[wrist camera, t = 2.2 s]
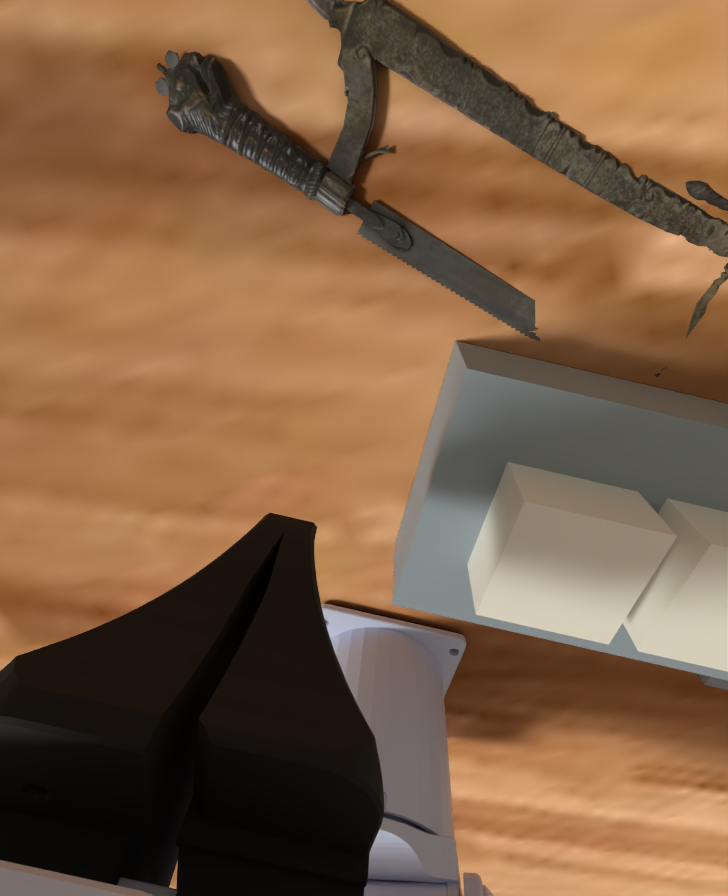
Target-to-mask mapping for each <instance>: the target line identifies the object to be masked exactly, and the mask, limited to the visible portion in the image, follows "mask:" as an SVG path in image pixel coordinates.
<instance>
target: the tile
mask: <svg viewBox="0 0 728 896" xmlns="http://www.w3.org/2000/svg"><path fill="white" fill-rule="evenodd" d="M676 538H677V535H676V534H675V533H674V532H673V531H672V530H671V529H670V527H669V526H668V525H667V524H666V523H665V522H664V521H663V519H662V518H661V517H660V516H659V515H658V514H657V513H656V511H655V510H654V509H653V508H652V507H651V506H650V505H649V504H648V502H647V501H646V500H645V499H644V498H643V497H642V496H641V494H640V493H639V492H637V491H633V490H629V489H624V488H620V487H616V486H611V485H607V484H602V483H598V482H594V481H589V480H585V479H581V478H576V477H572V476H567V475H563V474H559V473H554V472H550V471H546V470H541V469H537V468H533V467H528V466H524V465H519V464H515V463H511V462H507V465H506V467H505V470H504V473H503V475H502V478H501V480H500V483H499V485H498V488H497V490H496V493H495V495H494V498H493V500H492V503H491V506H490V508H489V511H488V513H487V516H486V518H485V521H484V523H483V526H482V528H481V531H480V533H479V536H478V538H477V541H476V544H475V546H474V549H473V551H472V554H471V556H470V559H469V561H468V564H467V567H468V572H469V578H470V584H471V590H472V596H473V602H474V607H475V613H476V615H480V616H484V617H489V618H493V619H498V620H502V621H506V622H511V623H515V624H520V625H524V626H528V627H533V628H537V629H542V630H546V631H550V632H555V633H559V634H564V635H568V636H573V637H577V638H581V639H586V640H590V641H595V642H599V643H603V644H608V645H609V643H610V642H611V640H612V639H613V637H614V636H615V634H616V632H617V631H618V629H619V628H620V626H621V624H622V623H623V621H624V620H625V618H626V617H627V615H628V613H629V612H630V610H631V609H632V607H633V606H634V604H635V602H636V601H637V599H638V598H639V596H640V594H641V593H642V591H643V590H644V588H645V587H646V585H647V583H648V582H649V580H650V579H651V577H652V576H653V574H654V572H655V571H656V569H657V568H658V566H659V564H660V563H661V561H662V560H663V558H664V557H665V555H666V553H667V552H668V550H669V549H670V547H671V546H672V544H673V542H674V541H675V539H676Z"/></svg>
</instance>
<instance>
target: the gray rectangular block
mask: <svg viewBox="0 0 728 896" xmlns="http://www.w3.org/2000/svg"><path fill="white" fill-rule="evenodd" d="M507 462H511V463H515V464H519V465H524V466H528V467H533V468H537V469H541V470H546V471H550V472H554V473H559V474H563V475H567V476H572V477H576V478H581V479H585V480H589V481H594V482H598V483H602V484H607V485H611V486H616V487H620V488H624V489H629V490H633V491H637V492H639V493H640V494H641V496H642V497H643V498H644V499H645V500H646V501H647V502H648V504H649V505H650V506H651V507H652V508H653V509H654V510H655V511H656V513H657V514H658V513H659V511H660V509H661V508H662V506H663V504H664V503H665V501H666V499H667V498H668V499H672V500H677V501H681V502H685V503H690V504H694V505H698V506H703V507H707V508H712V509H716V510H720V511H725V512H728V404H727V403H723V402H719V401H714V400H710V399H706V398H701V397H697V396H693V395H688V394H684V393H680V392H675V391H671V390H667V389H662V388H658V387H654V386H649V385H645V384H641V383H636V382H632V381H628V380H623V379H619V378H615V377H610V376H606V375H602V374H597V373H593V372H589V371H584V370H580V369H576V368H571V367H567V366H563V365H558V364H554V363H550V362H545V361H541V360H537V359H532V358H528V357H524V356H519V355H515V354H511V353H506V352H502V351H498V350H493V349H489V348H485V347H480V346H476V345H472V344H467V343H463V342H459V341H455V344H454V348H453V351H452V354H451V358H450V361H449V364H448V368H447V371H446V375H445V378H444V381H443V385H442V388H441V391H440V395H439V398H438V401H437V405H436V408H435V412H434V415H433V418H432V422H431V425H430V428H429V432H428V435H427V438H426V442H425V445H424V449H423V452H422V455H421V459H420V462H419V465H418V469H417V472H416V476H415V479H414V482H413V486H412V489H411V492H410V496H409V499H408V502H407V506H406V509H405V513H404V516H403V519H402V523H401V526H400V529H399V533H398V536H397V539H396V543H395V559H394V580H393V601H392V605H397V606H401V607H405V608H410V609H414V610H419V611H423V612H427V613H432V614H436V615H441V616H445V617H450V618H454V619H458V620H463V621H467V622H472V623H476V624H480V625H485V626H489V627H494V628H498V629H503V630H507V631H511V632H516V633H520V634H525V635H529V636H533V637H538V638H542V639H547V640H551V641H556V642H560V643H564V644H569V645H573V646H578V647H582V648H586V649H591V650H595V651H600V652H604V653H609V654H613V655H617V656H622V657H626V658H631V659H635V660H639V661H644V662H648V663H653V664H657V665H662V666H666V667H670V668H675V669H679V670H684V671H688V672H692V673H697V674H701V675H706V676H710V677H715V678H719V679H723V680H728V672H727V671H723V670H718V669H714V668H709V667H705V666H701V665H696V664H692V663H687V662H683V661H678V660H674V659H670V658H665V657H661V656H656V655H652V654H648V653H643V652H639V651H638V650H637V648H636V646H635V645H634V643H633V641H632V639H631V637H630V635H629V634H628V632H627V630H626V628H625V626H624V624H623V623H622V624H621V626H620V628H619V629H618V631H617V632H616V634H615V636H614V637H613V639H612V640H611V642H610V643H609V645H608V644H603V643H599V642H595V641H590V640H586V639H581V638H577V637H573V636H568V635H564V634H559V633H555V632H550V631H546V630H542V629H537V628H533V627H528V626H524V625H520V624H515V623H511V622H506V621H502V620H498V619H493V618H489V617H484V616H480V615H476V613H475V607H474V602H473V596H472V590H471V584H470V578H469V572H468V567H467V564H468V561H469V559H470V556H471V554H472V551H473V549H474V546H475V544H476V541H477V538H478V536H479V533H480V531H481V528H482V526H483V523H484V521H485V518H486V516H487V513H488V511H489V508H490V506H491V503H492V500H493V498H494V495H495V493H496V490H497V488H498V485H499V483H500V480H501V478H502V475H503V473H504V470H505V467H506V465H507Z"/></svg>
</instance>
